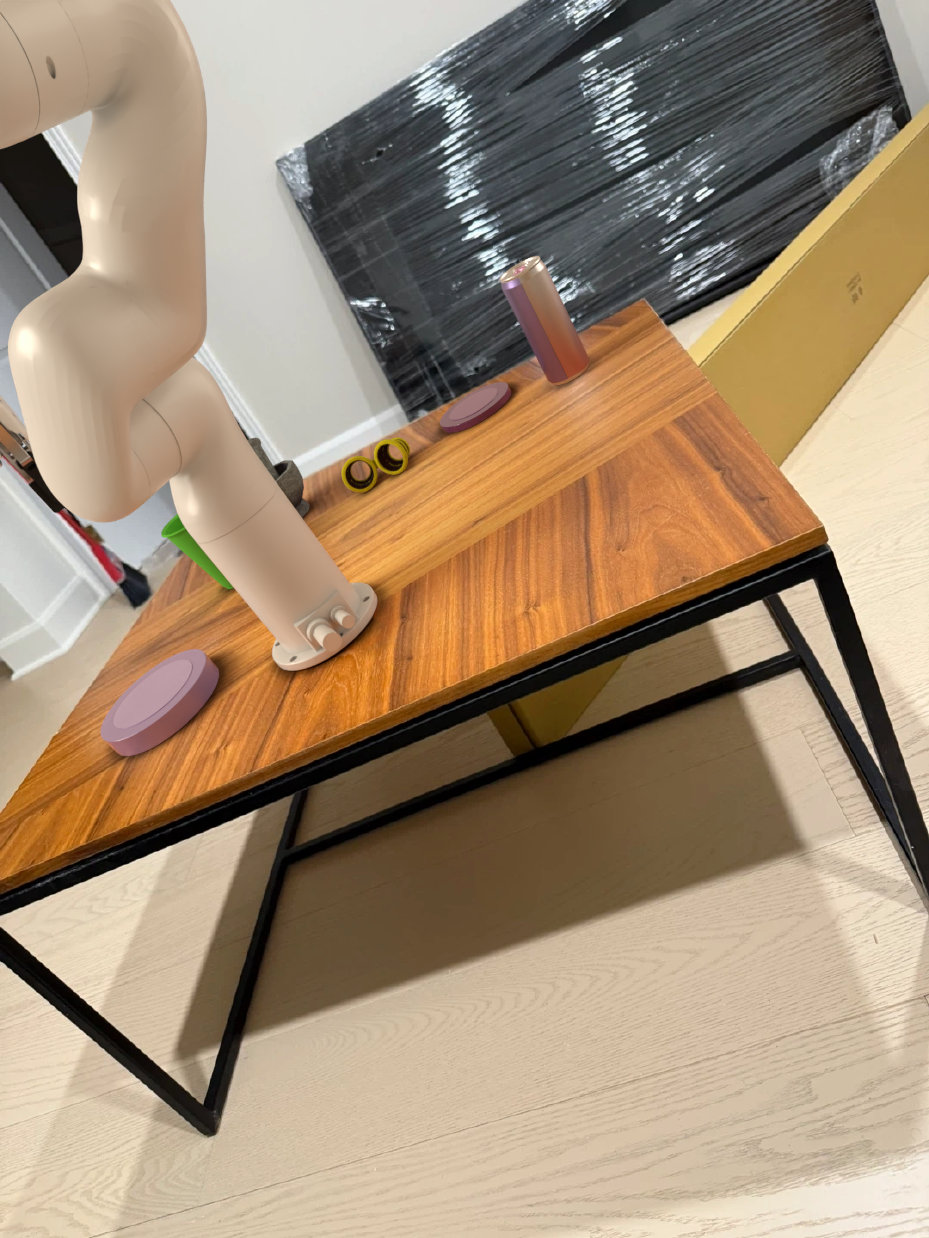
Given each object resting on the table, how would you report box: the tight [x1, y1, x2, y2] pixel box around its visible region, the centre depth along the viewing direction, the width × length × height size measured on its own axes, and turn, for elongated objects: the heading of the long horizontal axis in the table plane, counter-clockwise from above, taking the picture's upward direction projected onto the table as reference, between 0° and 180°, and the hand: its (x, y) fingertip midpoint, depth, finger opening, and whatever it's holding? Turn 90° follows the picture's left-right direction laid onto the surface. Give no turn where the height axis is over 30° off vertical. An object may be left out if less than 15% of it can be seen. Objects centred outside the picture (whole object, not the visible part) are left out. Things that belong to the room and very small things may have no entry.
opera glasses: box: [341, 436, 411, 494], centre depth 115 cm, size 10×5×5 cm, turn 92°
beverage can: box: [498, 255, 590, 386], centre depth 106 cm, size 6×6×15 cm
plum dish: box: [439, 381, 512, 434], centre depth 118 cm, size 11×11×1 cm
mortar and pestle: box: [247, 437, 310, 518], centre depth 121 cm, size 11×9×12 cm
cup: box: [160, 513, 234, 590], centre depth 112 cm, size 9×9×11 cm
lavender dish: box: [99, 648, 220, 757], centre depth 93 cm, size 14×14×2 cm
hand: (67, 504), depth 93 cm, fingers closed
